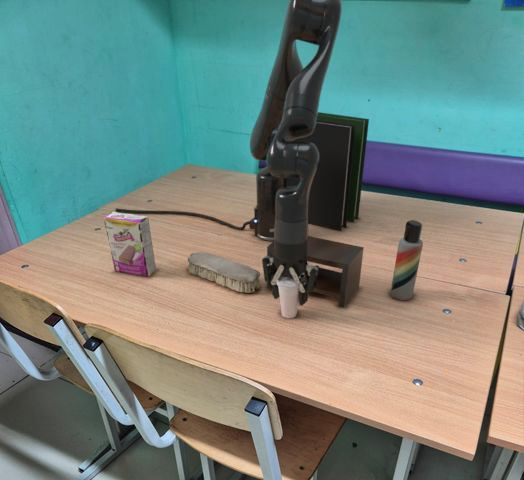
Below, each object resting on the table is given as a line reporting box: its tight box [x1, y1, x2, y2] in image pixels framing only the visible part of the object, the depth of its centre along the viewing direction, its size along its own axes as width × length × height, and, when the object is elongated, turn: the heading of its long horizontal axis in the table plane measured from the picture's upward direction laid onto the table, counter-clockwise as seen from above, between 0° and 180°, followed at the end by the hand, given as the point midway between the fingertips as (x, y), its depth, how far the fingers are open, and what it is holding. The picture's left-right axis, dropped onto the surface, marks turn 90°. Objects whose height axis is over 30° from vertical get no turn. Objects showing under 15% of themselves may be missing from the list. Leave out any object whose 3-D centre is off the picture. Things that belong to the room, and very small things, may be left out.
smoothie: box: [277, 276, 300, 319], centre depth 118 cm, size 6×6×14 cm
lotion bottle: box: [390, 219, 424, 301], centre depth 123 cm, size 6×6×20 cm
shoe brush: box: [187, 251, 261, 294], centre depth 135 cm, size 24×8×5 cm, turn 54°
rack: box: [266, 235, 365, 309], centre depth 129 cm, size 22×11×12 cm, turn 61°
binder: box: [286, 111, 370, 232], centre depth 163 cm, size 27×15×32 cm, turn 54°
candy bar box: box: [103, 211, 157, 278], centre depth 137 cm, size 11×5×16 cm, turn 71°
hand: (289, 300), depth 120 cm, fingers closed on smoothie, 6 cm apart
